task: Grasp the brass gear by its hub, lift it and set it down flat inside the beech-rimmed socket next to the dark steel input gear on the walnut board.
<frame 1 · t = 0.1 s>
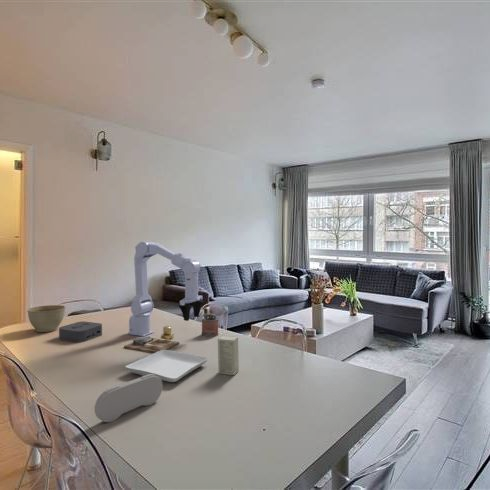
hand: (191, 318, 158), 10 cm above the table, tool pointing down, fingers open, 7 cm apart
salad plate: (168, 371, 125), on the table
gear board: (152, 345, 151), on the table
streaming box: (81, 337, 164), on the table
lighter: (209, 335, 169), on the table
skincare box: (228, 372, 123), on the table
brass gear: (167, 338, 163), on the table
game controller: (130, 412, 96), on the table
planter bowl: (47, 330, 174), on the table
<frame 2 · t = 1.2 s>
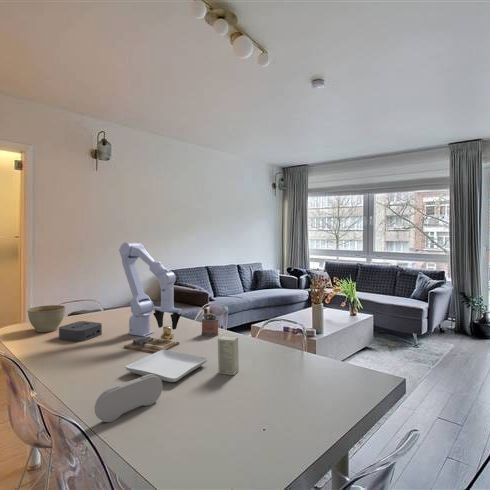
hand: (167, 328, 162), 5 cm above the table, tool pointing down, fingers open, 7 cm apart
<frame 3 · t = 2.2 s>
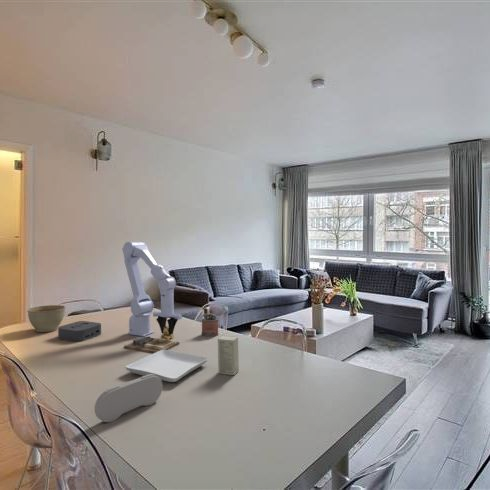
hand: (167, 333, 163), 2 cm above the table, tool pointing down, fingers closed on brass gear, 4 cm apart
brass gear: (167, 338, 163), on the table, touching gripper
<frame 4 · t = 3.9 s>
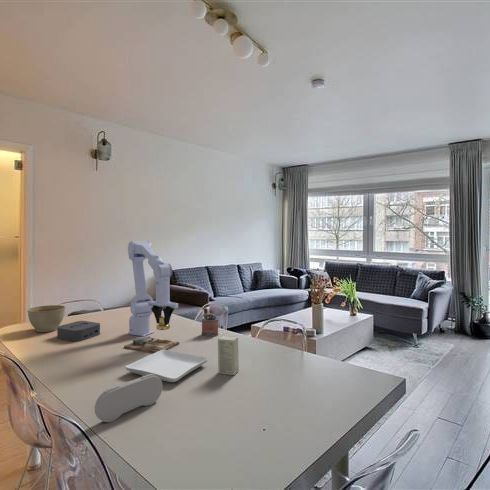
hand: (162, 323, 153), 9 cm above the table, tool pointing down, fingers closed on brass gear, 4 cm apart
brass gear: (163, 328, 153), point 7 cm above the table, touching gripper
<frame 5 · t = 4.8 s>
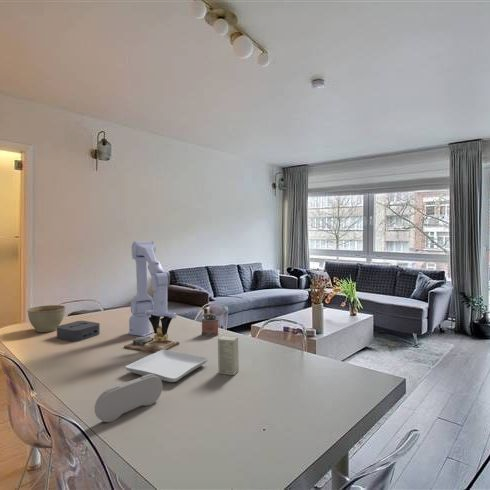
hand: (160, 333, 149), 6 cm above the table, tool pointing down, fingers closed on brass gear, 4 cm apart
brass gear: (161, 338, 150), point 4 cm above the table, touching gripper
when the fingers open (4 cm above the table, at t = 5.5 s): brass gear stays where it is, resting on gear board.
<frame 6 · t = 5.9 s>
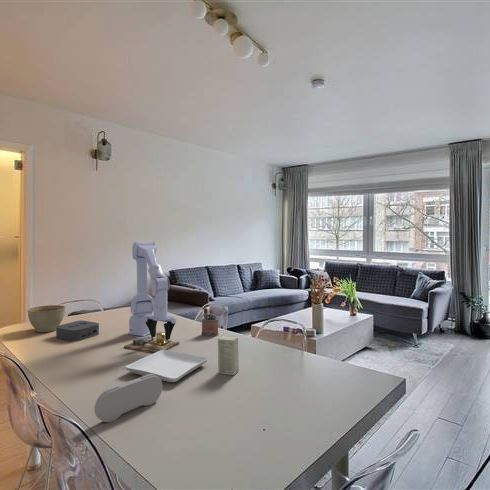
hand: (160, 338, 149), 4 cm above the table, tool pointing down, fingers open, 7 cm apart
brass gear: (160, 345, 150), point 1 cm above the table, touching gear board
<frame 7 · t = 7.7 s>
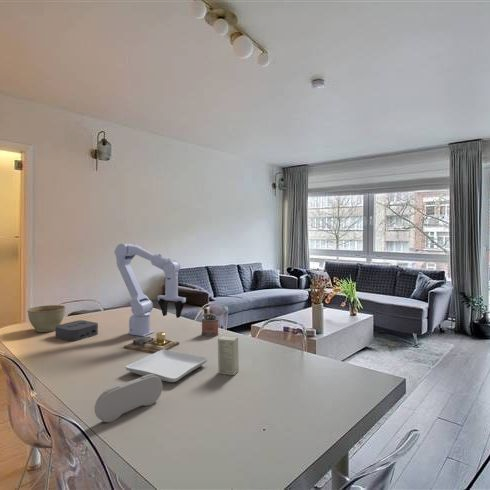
hand: (171, 316, 165), 9 cm above the table, tool pointing down, fingers open, 7 cm apart
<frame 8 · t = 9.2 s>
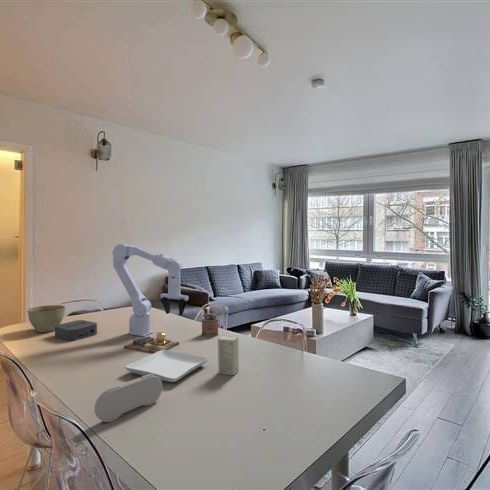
hand: (174, 314, 169), 9 cm above the table, tool pointing down, fingers open, 7 cm apart
at the end: brass gear 0.3 cm from the target spot on the gear board, point 0.8 cm above the gear board's base; brass gear tilted 0°; the gripper is holding nothing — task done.
